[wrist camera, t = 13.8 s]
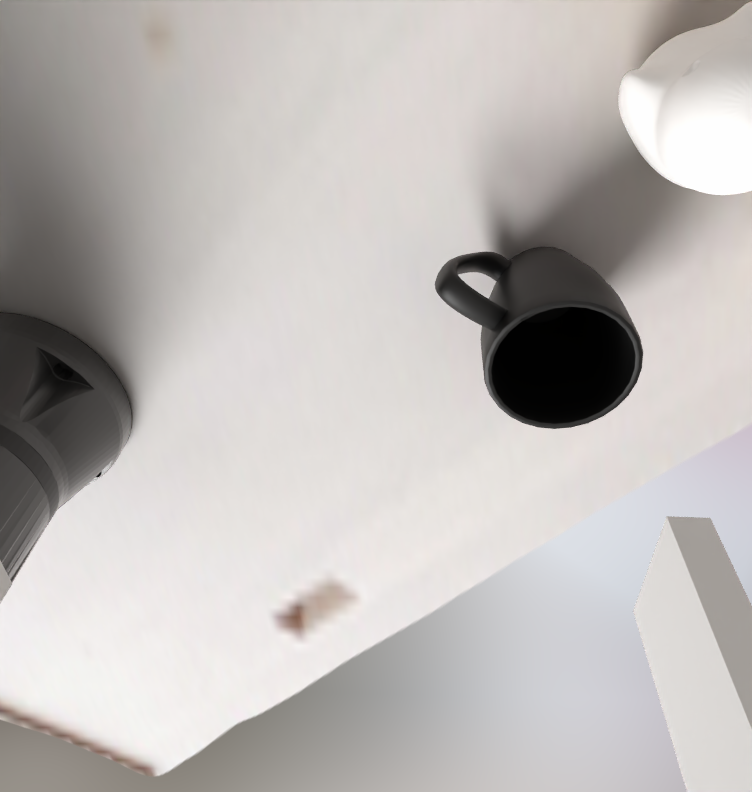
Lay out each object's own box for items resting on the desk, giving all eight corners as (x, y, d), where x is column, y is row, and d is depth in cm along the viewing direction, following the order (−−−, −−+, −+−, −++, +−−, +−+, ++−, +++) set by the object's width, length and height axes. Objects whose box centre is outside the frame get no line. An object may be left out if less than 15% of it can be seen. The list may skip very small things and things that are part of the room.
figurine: (733, -25, 32) (860, 2, 22) (771, 117, 36) (895, 193, 26) (591, 59, 35) (651, 116, 25) (640, 184, 38) (709, 275, 29)
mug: (488, 160, 38) (501, 223, 30) (634, 275, 42) (678, 358, 34) (403, 265, 42) (395, 343, 35) (542, 362, 46) (563, 452, 38)
